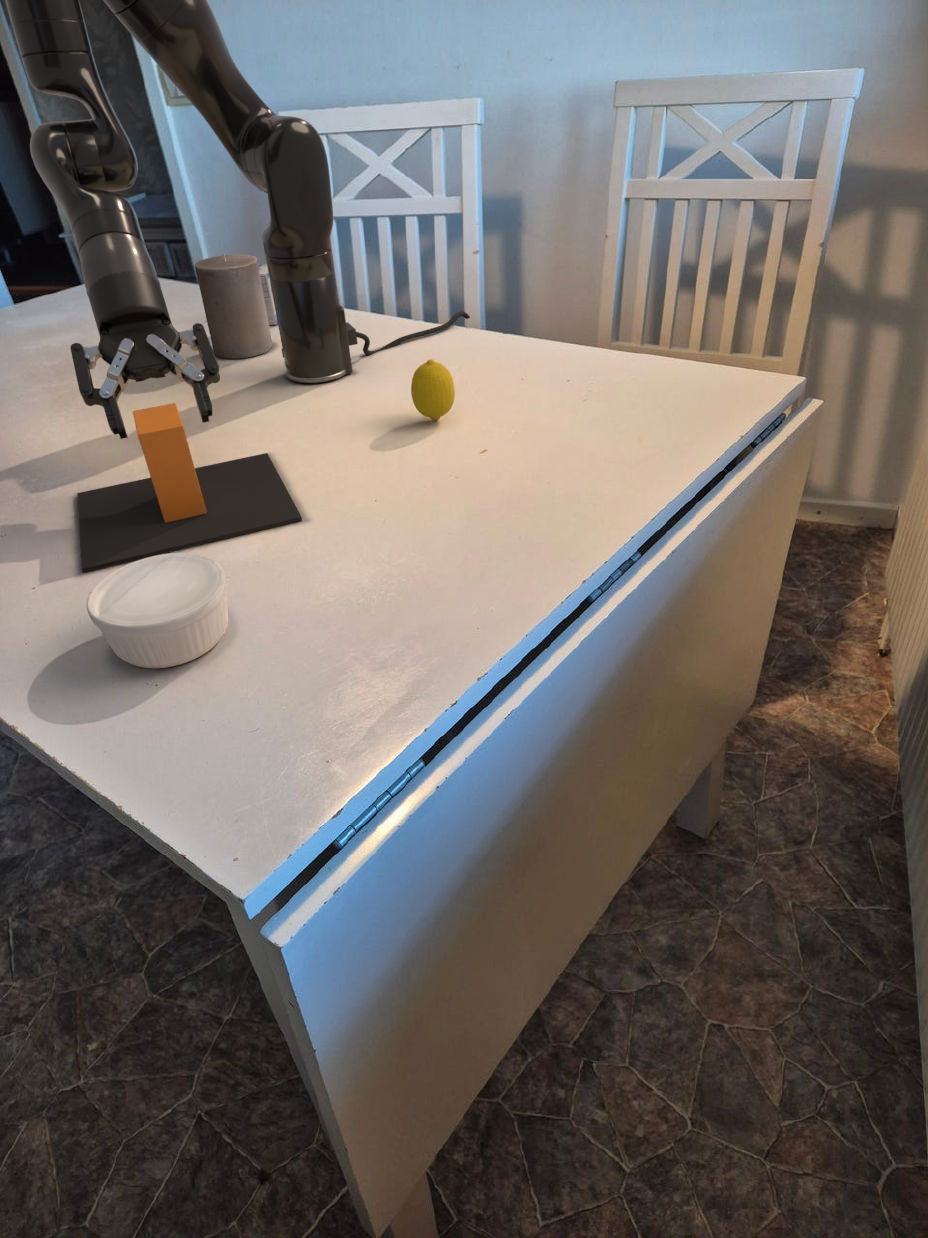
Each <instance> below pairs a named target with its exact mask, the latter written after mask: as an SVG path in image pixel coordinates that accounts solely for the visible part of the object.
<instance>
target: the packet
mask: <svg viewBox="0 0 928 1238" xmlns="http://www.w3.org/2000/svg"><path fill="white" fill-rule="evenodd" d="M132 415H133V419H134V420H133V421H134V425H135V428H136V433H137V437H138V441H139V445H140V446H141V447H140V448H141V450H142V454H143V457H144V459H145V463H146V467H147V469H148V473H149V476H150V478H151V479H152V482H153V486H154V489H155V492H156V495H157V499H158V502H159V505H160V508H161V512H162V515H163V518H164V521H165V523H167V522H172V521H176V520H181V519H185V518H189V517H194V516H198V515H203V514H207V511H206V508H205V504H204V500H203V497H202V493H201V489H200V486H199V482H198V478H197V475H196V471H195V468H196V467H195V464H194V460H193V457H192V453H191V449H190V446H189V442H188V439H187V434H186V431H185V427H184V424H183V421H182V419H181V415H180V413H179V410H178V407H177V404H176V403H175V402H174V403H169V404H162V405H157V406H151V407H147V408H142V409H136V410H133V411H132Z"/></svg>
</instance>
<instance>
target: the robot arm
mask: <svg viewBox="0 0 928 1238" xmlns="http://www.w3.org/2000/svg"><path fill="white" fill-rule="evenodd" d="M103 2H104V3H105V4H106V6H107V7H108V8H109V9H110V11H111V12H112V13H113V15H114V16H115V17H116V18H117V19H118V21H120V23H121V24H122V26H124V28H125V29H126V30H127V32H128V33H129V34H130V35H131V36H132V37H133V38H134V40H135V41H136V42H137V43H138V44H139V45H140V46H141V47H142V49H143V50H144V51H145V52H146V53H147V54H148V55H149V56H150V57H151V59H152V60H153V61H154V62H155V63H156V64H157V66H158V67H159V68H160V69H161V71H163V73H164V74H165V75H166V76H167V78H168V79H169V80H170V81H171V82H172V83H173V84H174V86H175V87H176V88H177V89H178V90H179V91H180V92H181V93H182V95H183V96H184V97H185V98H186V99H187V100H188V101H189V102H190V103H191V104H192V105H193V107H194V108H195V109H196V110H197V111H198V113H199V114H200V115H201V116H202V117H203V119H204V120H205V122H206V123H207V124H208V126H209V127H210V128H211V130H212V131H213V132H214V134H215V136H216V137H217V138H218V140H219V142H220V143H221V144H222V146H223V147H224V149H225V150H226V151H227V153H228V154H229V156H230V158H231V159H232V160H233V162H234V164H235V165H236V166H237V168H238V169H239V171H241V173H242V175H243V176H244V177H245V179H246V180H247V181H248V182H249V183H250V184H251V185H253V186H254V187H255V189H257V190H259V191H260V192H263V193H265V194H266V195H267V200H268V208H269V216H270V217H269V218H270V221H269V224H268V227H266V228H265V229H264V231H263V232H262V237H261V238H262V245H263V251H264V254H265V255H264V256H265V260H266V264H267V267H268V273H269V277H270V283H271V289H272V294H273V300H274V305H275V310H276V316H277V321H278V324H277V326H278V331H279V336H280V343H281V353H282V359H284V365H285V371H286V372H285V374H286V377H287V379H288V380H289V381H292V382H296V383H300V384H319V383H325V382H330V381H334V380H337V379H340V378H342V377H344V376H346V375H349V374H353V373H354V372H353V366H352V365H353V364H352V358H351V350H350V349H351V348H350V346H355V345H358V344H359V343H358V339H361V340H363V341H364V345H363V347H362V352H363V354H364V355H367V356H373V354H376V353H378V352H381V351H384V350H388V349H391V348H394V347H396V346H397V345H399V344H401V343H404V342H407V341H409V340H414V339H417V338H421V337H424V336H428V335H432V334H435V333H438V332H441V331H444V330H446V329H448V328H450V327H451V326H452V325H454V324H455V322H456V321H458V319H459V318H461V317H463V318H464V319H466V320H468V319H469V320H470V319H471V316H470V315H469V314H468V313H467V312H466V311H460V310H459V311H458V312H456V313H454V315H453V316H452V317H451V318H450V319H449V320H448V321H447V322H445V323H444V324H441V325H438V326H434V327H432V328H429V329H425V330H421V331H417V332H413V333H410V334H406V335H403V336H401V337H398V338H396V339H394V340H392V341H390V342H389V343H387V344H385V345H384V346H382V347H380V348H378V349H375V350H369V349H370V344H371V340H370V338H369V336H368V335H366V334H365V333H362V332H359V331H357V330H356V328H355V327H353V325H351V323H349V322H347V321H346V313H345V308H344V307H343V306H342V305H341V304H340V298H339V297H340V296H339V291H338V283H337V278H336V270H335V268H336V267H335V262H334V255H333V246H332V237H331V236H332V231H333V227H334V207H333V206H334V205H333V196H332V187H331V186H332V185H331V176H330V175H331V174H330V167H329V166H330V165H329V160H328V154H327V152H326V151H327V150H326V147H325V145H324V142H323V139H322V138H321V135H320V133H319V132H318V131H317V129H316V128H315V127H314V126H313V125H312V124H311V123H310V122H308V120H307V121H306V120H305V119H303V118H300V117H297V116H290V115H278V114H277V113H275V112H274V111H273V110H272V109H271V108H270V107H269V106H268V105H267V104H266V103H265V102H264V100H263V99H262V98H261V97H260V96H259V95H258V93H257V92H256V91H255V90H254V88H253V87H252V86H251V85H250V84H249V83H248V81H247V80H246V79H245V77H244V76H243V75H242V73H241V72H240V70H239V68H238V66H237V64H235V62H234V60H233V58H232V56H231V53H230V51H229V49H228V46H227V44H226V41H225V39H224V36H223V34H222V31H221V29H220V26H219V23H218V21H217V18H216V16H215V13H214V12H213V9H212V8H211V6H210V4H209V2H208V0H103ZM5 4H6V8H7V13H8V17H9V20H10V22H11V26H12V30H13V34H14V37H15V40H16V43H17V47H18V51H19V54H20V57H21V60H22V64H23V67H24V71H25V74H26V77H27V80H28V81H29V84H30V86H31V87H32V88H33V89H34V90H36V91H37V92H38V93H42V94H44V95H45V94H46V95H50V96H57V97H63V98H68V99H71V100H75V101H77V102H79V103H80V104H82V105H83V106H84V107H85V108H86V110H87V111H88V112H89V114H90V116H91V118H90V119H77V120H63V121H48V122H47V121H46V122H43V123H41V124H39V125H37V126H36V128H35V129H34V130H33V131H32V134H31V137H30V142H29V151H30V155H31V156H30V157H31V159H32V161H33V165H34V167H35V169H36V171H37V173H38V174H39V176H40V178H41V179H42V181H43V183H44V184H45V186H46V187H47V189H48V190H49V191H50V193H51V195H52V196H53V197H54V199H55V201H56V202H57V203H58V205H59V207H60V208H61V210H62V211H63V213H64V215H65V217H66V220H67V223H68V224H69V227H70V230H71V233H72V237H73V241H74V244H75V247H76V250H77V254H78V257H79V262H80V270H81V275H82V280H83V284H84V286H85V287H84V288H85V289H86V291H85V293H86V295H87V297H88V301H89V303H90V308H91V310H92V314H93V317H94V321H95V325H96V328H97V331H98V334H99V342H98V345H92V346H91V345H90V346H83V345H82V344H81V343H79V342H74V343H72V344H71V345H70V354H71V359H72V362H73V367H74V371H75V377H76V382H77V385H78V390H79V393H80V395H81V398H82V399H83V400H82V401H83V402H84V404H85V405H86V406H88V407H94V406H95V405H96V406H100V407H102V408H103V410H104V412H105V417H106V420H107V424H108V427H109V429H110V431H111V433H112V434H113V435H115V436H116V435H118V436H119V438H120V440H122V439H128V434H127V433H128V432H127V430H126V426H125V424H124V419H123V417H122V412H121V410H120V407H119V404H118V401H119V399H120V397H121V395H122V393H124V392H125V391H126V389H127V387H128V384H129V382H130V380H131V381H135V383H139V382H144V381H146V380H149V379H161V378H162V379H163V378H166V375H168V374H171V375H172V376H173V377H175V378H176V379H178V380H179V381H180V382H184V383H185V384H187V385H189V386H190V387H191V388H192V391H193V395H194V398H195V402H196V405H197V409H198V412H199V416H200V419H201V422H202V423H203V424H205V423H209V422H210V417H213V414H214V413H213V412H214V410H213V404H212V401H211V397H210V394H209V390H208V387H209V386H210V385H211V384H218V383H219V382H220V380H221V374H220V365H219V363H218V361H217V358H216V355H215V354H214V351H213V347H212V343H211V342H210V340H209V336H208V334H207V332H206V330H205V326H204V324H202V323H200V322H196V323H194V324H193V325H192V328H191V329H187V330H183V331H178V330H177V329H176V328H175V327H174V324H173V323H172V320H171V317H170V313H169V310H168V307H167V304H166V303H167V302H166V300H165V296H164V294H163V290H162V287H161V282H160V280H159V276H158V273H157V271H156V268H155V265H154V262H153V260H152V257H151V256H150V254H149V251H148V249H147V246H146V242H145V239H144V237H143V233H142V229H141V225H140V223H139V222H140V221H139V219H138V216H137V213H136V211H135V209H134V207H133V205H132V203H131V202H130V201H129V200H128V199H126V198H125V197H124V196H123V195H120V194H119V193H116V192H120V191H125V190H129V189H130V188H132V187H133V185H134V184H135V182H136V180H137V177H138V173H139V165H138V164H139V163H138V159H137V155H136V152H135V150H134V147H133V145H132V142H131V140H130V138H129V137H128V135H127V133H126V131H125V129H124V127H123V125H122V124H121V121H120V120H119V118H118V116H117V114H116V112H115V110H114V108H113V106H112V104H111V102H110V99H109V96H108V95H107V93H106V90H105V88H104V84H103V83H102V79H101V78H100V74H99V71H98V68H97V64H96V60H95V57H94V54H93V49H92V45H91V41H90V38H89V33H88V29H87V26H86V22H85V17H84V14H83V10H82V7H81V2H80V0H5ZM183 345H187V346H188V347H189V348H190V349H191V350H192V351H194V352H198V354H199V357H200V359H201V362H202V365H203V367H204V368H203V369H201V370H200V369H198V368H197V367H196V366H195V365H193V364H192V363H190V362H189V361H188V359H187V358H186V357H185V356H183V355H182V354H181V353H180V351H181V349H182V346H183ZM99 359H102V360H103V361H104V362H105V363H107V364H108V365H109V368H108V369H107V372H106V377H105V379H104V381H103V383H102V384H101V387H100V388H97V387H94V382H93V378H92V373H91V370H94V369H95V368H96V366H97V361H98V360H99Z"/></svg>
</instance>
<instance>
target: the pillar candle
mask: <svg viewBox="0 0 928 1238" xmlns="http://www.w3.org/2000/svg"><path fill="white" fill-rule="evenodd" d="M258 263H259V262H258V258H257V256H254V255H248V254H225V251H222V255H218V256H212V257H208V258H204V259H201V260H199V261H197V262H195V264H194V269H195V273H196V278H197V283H198V287H199V292H200V296H201V300H202V305H203V310H204V314H205V319H206V323H207V328H208V334H209V336H210V341H211V347H212V350H213V352H214V355H215V357H218V358H222V359H230V360H231V359H234V360H235V359H245V358H246V359H247V358H251V357H256V356H260V355H263V354H265V353H268V351H269V350H270V349H271V348H272V347H273V338H272V332H271V328H270V325H269V322H268V316H267V311H266V306H265V300H264V295H263V290H262V285H261V279H260V274H259V268H258V267H259V264H258Z"/></svg>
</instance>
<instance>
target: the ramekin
mask: <svg viewBox="0 0 928 1238" xmlns="http://www.w3.org/2000/svg"><path fill="white" fill-rule="evenodd" d="M227 590H228V579H227V575H226V572H225V570H224V568H223V566H222V565H221V564H220V563H219V562H218V561H216V560H214V559H213V558H211V557H209V556H204V555H201V554H197V553H189V552H169V553H164V554H160V555H155V556H151V557H147V558H143V559H139V560H134V561H132V562H130V563H128V564H126V565H124V566H122V567H120V568H118V569H116V570H114V571H112V572H111V573H109V574H108V575H106V576H105V577H103V579H101V580H100V581H99V582H98V583H96V585H95V586H94V587H93V588H92V590H91V591H90V592H89V594H88V596H87V600H86V610H87V611H86V612H87V613H88V614H87V615H88V616H89V618H90V620H91V622H92V623H93V624H94V625H95V626H96V627H97V628H98V629H99V631H100V632H101V634H102V635H103V637H104V638H105V640H106V641H107V643H108V644H109V647H110V648H111V649H112V651H113V652H114V653H115V655H116V656H117V657H118V658H119V659H122V661H124V662H126V663H128V664H130V665H133V666H136V667H139V668H144V669H165V668H166V669H167V668H170V667H171V668H172V667H176V666H180V665H183V664H186V663H189V662H191V661H193V660H195V659H198V658H199V657H201V656H203V655H204V654H207V653H208V652H209V651H211V650H212V649H213V648H214V647H215V646H216V645H217V644H218V643H219V642H220V641H221V639H222V637H223V636H224V635H225V632H226V631H227V628H228V624H229V609H228V598H227Z"/></svg>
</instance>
